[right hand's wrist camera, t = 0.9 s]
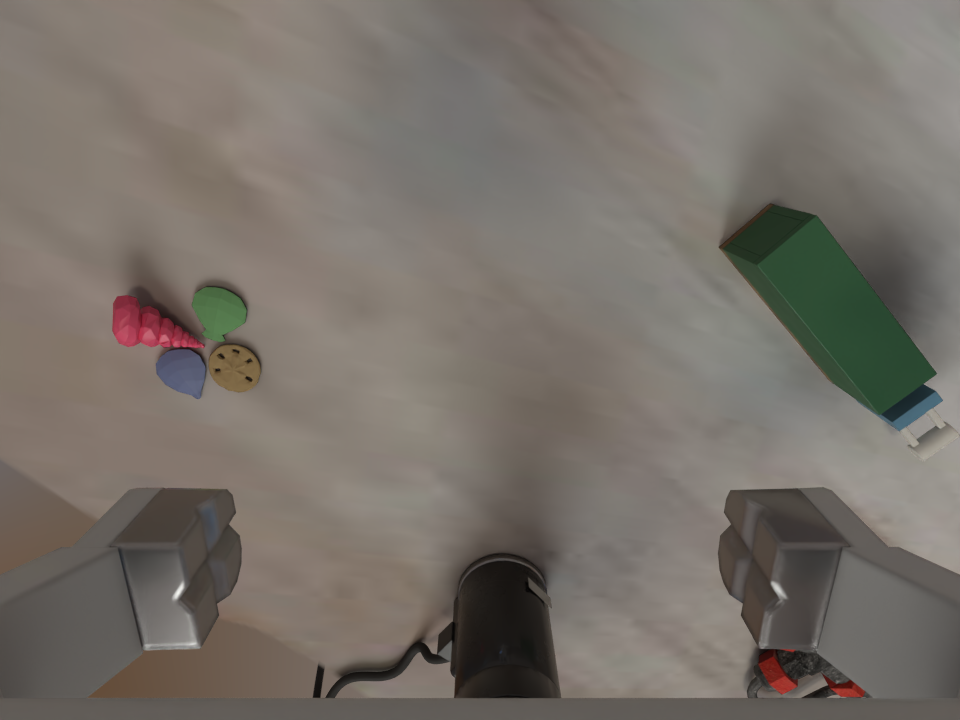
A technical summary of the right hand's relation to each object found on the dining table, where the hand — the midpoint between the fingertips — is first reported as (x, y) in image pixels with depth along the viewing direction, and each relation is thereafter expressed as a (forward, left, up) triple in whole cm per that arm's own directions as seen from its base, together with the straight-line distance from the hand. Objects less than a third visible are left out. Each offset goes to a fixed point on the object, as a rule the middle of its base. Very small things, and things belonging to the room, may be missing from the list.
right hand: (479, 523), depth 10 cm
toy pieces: (+10, -27, -45) cm, 53 cm away
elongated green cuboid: (+10, +28, -45) cm, 54 cm away
